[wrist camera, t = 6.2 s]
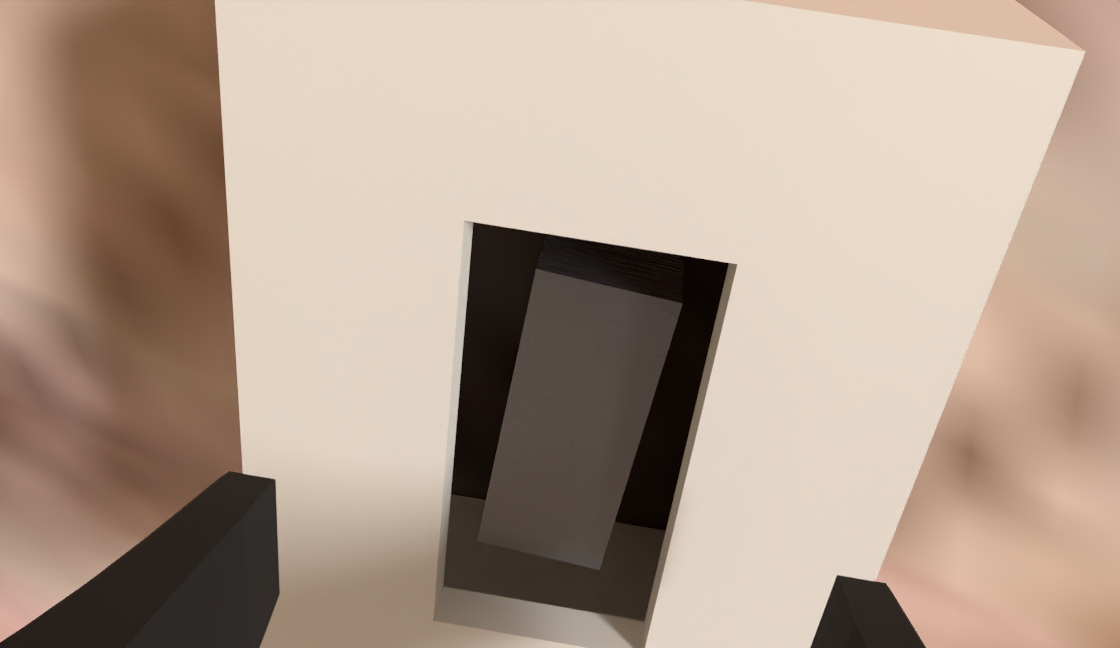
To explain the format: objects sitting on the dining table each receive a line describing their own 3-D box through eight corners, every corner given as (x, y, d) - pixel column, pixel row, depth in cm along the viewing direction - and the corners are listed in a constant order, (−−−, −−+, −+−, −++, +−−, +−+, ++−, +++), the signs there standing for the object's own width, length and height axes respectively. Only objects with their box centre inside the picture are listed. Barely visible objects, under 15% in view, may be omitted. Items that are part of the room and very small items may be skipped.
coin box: (763, 573, 23) (785, 806, 18) (351, 502, 23) (256, 712, 18) (956, -42, 16) (1085, 51, 11) (360, -130, 16) (209, -81, 11)
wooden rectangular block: (617, 406, 21) (599, 570, 17) (519, 383, 21) (476, 540, 17) (683, 177, 18) (682, 303, 14) (571, 150, 18) (535, 268, 14)
